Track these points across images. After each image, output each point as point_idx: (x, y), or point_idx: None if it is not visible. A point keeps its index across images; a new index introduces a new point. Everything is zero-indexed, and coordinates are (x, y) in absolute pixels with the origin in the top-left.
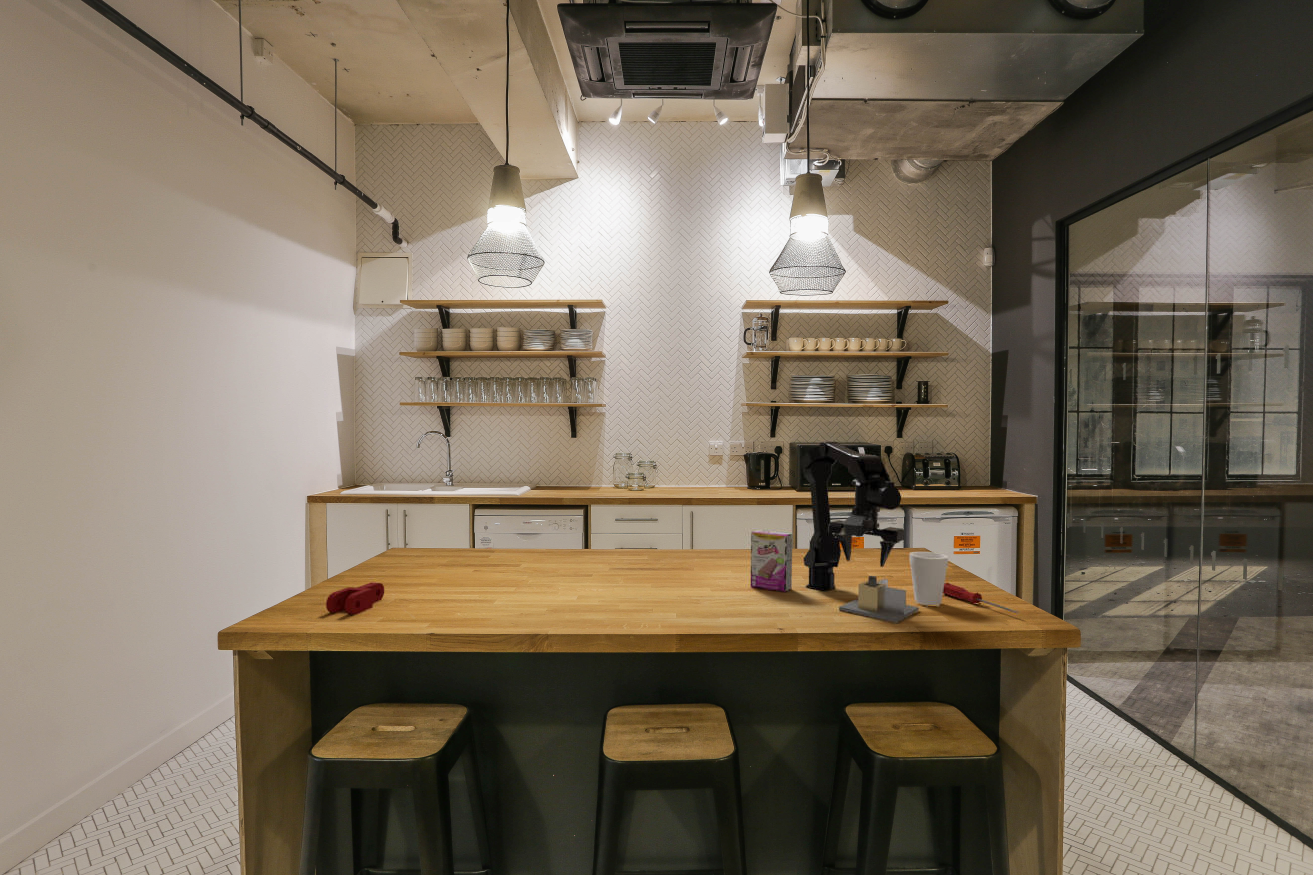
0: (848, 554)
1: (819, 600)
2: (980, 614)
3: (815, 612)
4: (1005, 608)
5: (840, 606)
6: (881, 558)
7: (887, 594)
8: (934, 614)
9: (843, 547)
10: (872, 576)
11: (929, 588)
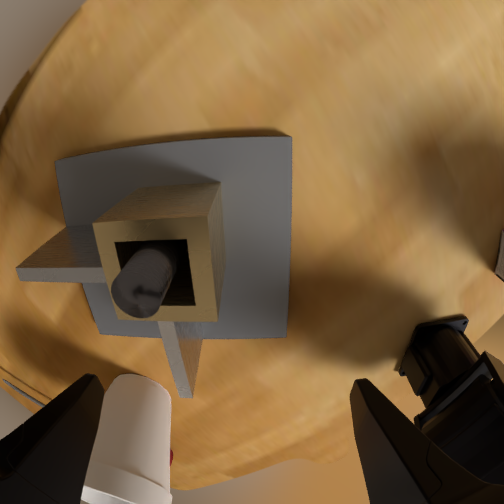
0: (367, 422)
1: (406, 218)
2: (41, 371)
3: (346, 50)
4: (23, 393)
5: (289, 145)
6: (56, 411)
7: (88, 251)
8: (68, 322)
9: (427, 450)
10: (142, 304)
11: (102, 409)
